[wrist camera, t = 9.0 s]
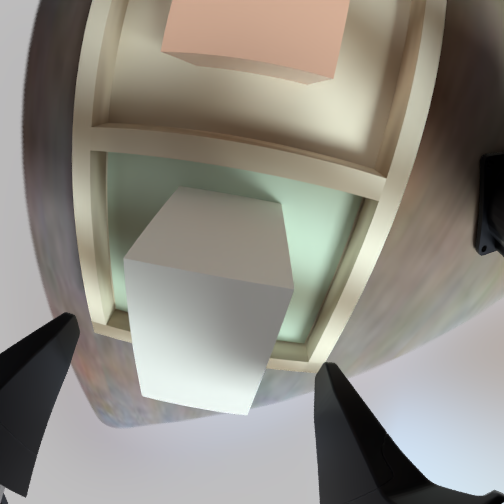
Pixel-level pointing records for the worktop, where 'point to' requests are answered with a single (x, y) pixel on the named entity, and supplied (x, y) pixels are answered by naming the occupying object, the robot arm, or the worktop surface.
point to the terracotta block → (259, 36)
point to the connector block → (208, 298)
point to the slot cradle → (252, 153)
